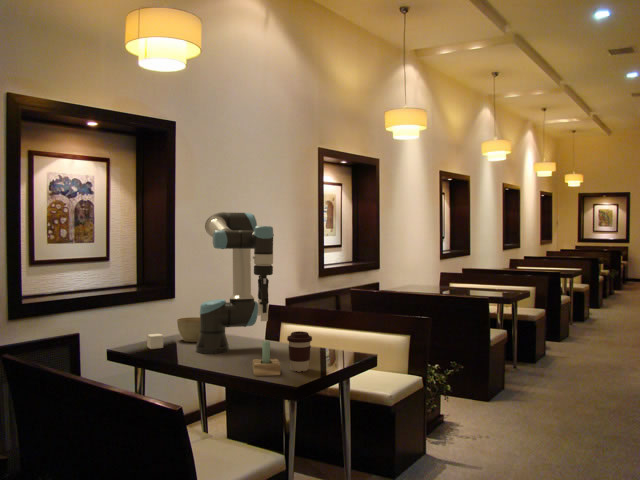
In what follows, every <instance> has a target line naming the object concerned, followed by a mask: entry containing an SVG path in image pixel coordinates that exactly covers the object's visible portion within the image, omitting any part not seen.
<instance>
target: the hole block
mask: <svg viewBox="0 0 640 480" xmlns="http://www.w3.org/2000/svg"><path fill="white" fill-rule="evenodd" d="M252 371H253V376H254V377H255V376H256V377H257V376H261V377H262V376H280V375H281V363H280V360H279V359H278V358H270V363H262V359H261V358H260V359H257V358H256V359H252Z"/></svg>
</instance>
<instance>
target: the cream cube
mask: <svg viewBox="0 0 640 480" xmlns="http://www.w3.org/2000/svg"><path fill="white" fill-rule="evenodd" d="M146 340H147V343H146V344H147V345H146V346H147V348H148V349H150V350H156V349H163V348H164V335H163V334H161V333H150V334H147V336H146Z"/></svg>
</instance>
